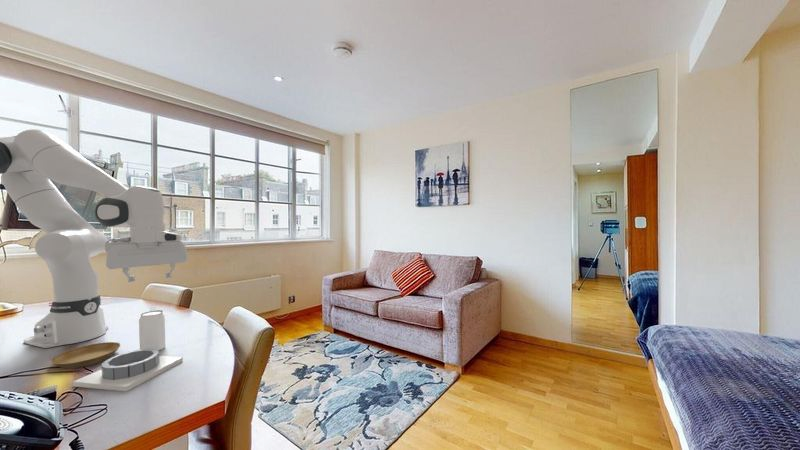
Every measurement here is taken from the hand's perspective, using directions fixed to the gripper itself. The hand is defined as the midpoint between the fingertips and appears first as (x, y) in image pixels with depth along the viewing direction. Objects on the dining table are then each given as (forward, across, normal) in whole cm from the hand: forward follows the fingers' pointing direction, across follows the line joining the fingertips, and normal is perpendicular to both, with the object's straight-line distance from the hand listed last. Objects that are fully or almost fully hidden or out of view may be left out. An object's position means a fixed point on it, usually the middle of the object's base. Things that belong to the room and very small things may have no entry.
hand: (150, 279), depth 99 cm
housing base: (+23, -3, -16) cm, 28 cm away
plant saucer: (+23, -16, +2) cm, 28 cm away
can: (+23, 0, 0) cm, 23 cm away
